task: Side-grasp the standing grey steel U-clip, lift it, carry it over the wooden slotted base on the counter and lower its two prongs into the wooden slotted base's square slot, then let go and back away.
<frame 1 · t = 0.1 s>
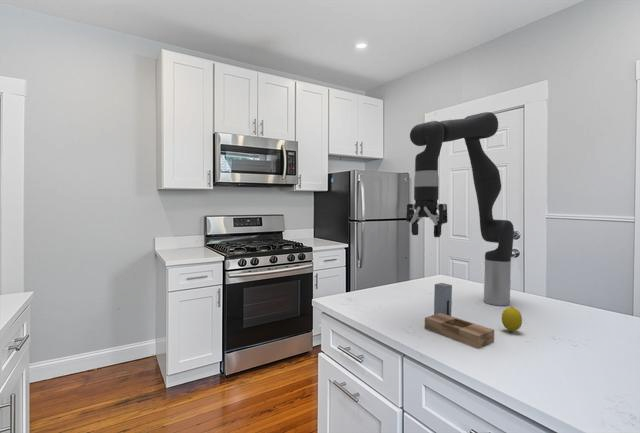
hand: (425, 236, 110), 29 cm above the worktop, tool pointing down, fingers open, 8 cm apart
clip: (442, 319, 117), on the worktop
wooden slotted base: (457, 334, 103), on the worktop
lemon: (511, 332, 106), on the worktop
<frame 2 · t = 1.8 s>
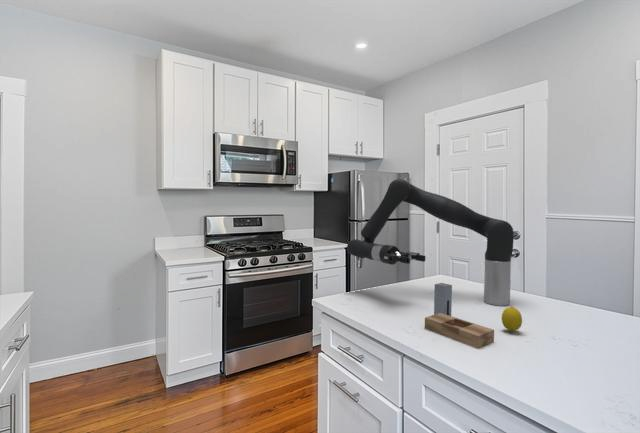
hand: (417, 259, 125), 19 cm above the worktop, tool horizontal, fingers open, 8 cm apart
nothing on the worktop moved.
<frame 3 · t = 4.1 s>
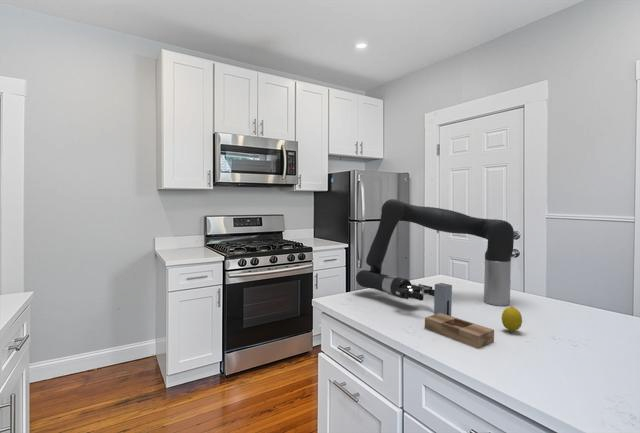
hand: (430, 295, 121), 7 cm above the worktop, tool horizontal, fingers open, 8 cm apart
nothing on the worktop moved.
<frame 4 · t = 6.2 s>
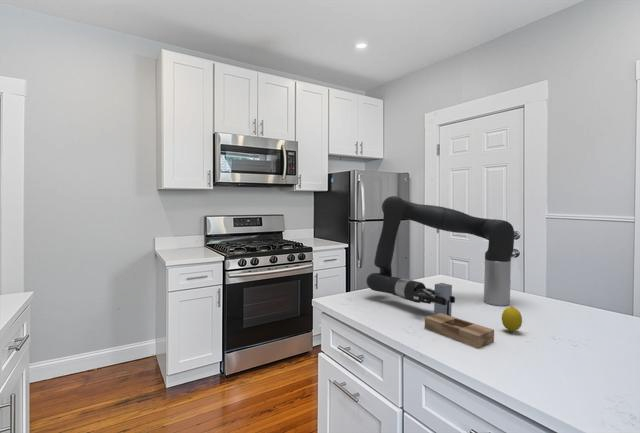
hand: (450, 301, 114), 7 cm above the worktop, tool horizontal, fingers closed on clip, 4 cm apart
clip: (442, 319, 117), on the worktop, touching gripper
everything else where it was.
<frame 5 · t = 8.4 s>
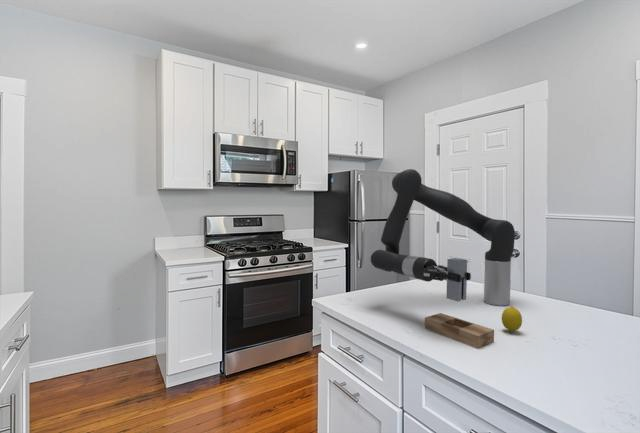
hand: (465, 277, 101), 18 cm above the worktop, tool horizontal, fingers closed on clip, 4 cm apart
clip: (456, 298, 103), point 11 cm above the worktop, touching gripper
everything else where it was.
when the fingers open (10 cm above the worktop, at t = 10.7 s): clip drops 1 cm, resting on wooden slotted base.
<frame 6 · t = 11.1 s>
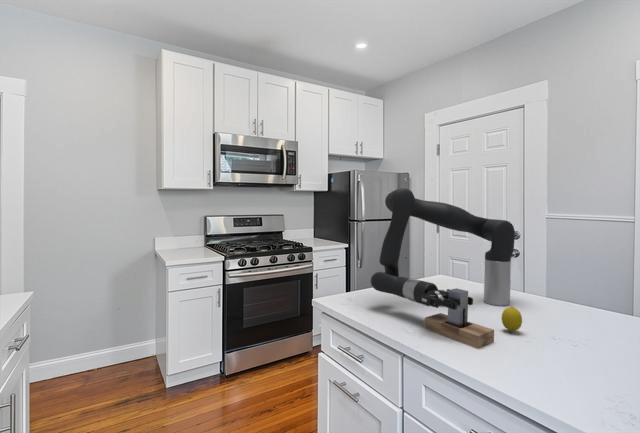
hand: (464, 303, 101), 10 cm above the worktop, tool horizontal, fingers open, 7 cm apart
clip: (457, 329, 103), point 1 cm above the worktop, touching wooden slotted base
everything else where it was.
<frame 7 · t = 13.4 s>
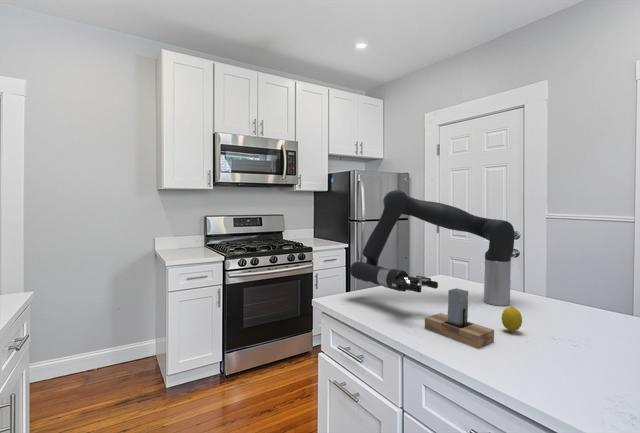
hand: (429, 287, 113), 12 cm above the worktop, tool horizontal, fingers open, 8 cm apart
nothing on the worktop moved.
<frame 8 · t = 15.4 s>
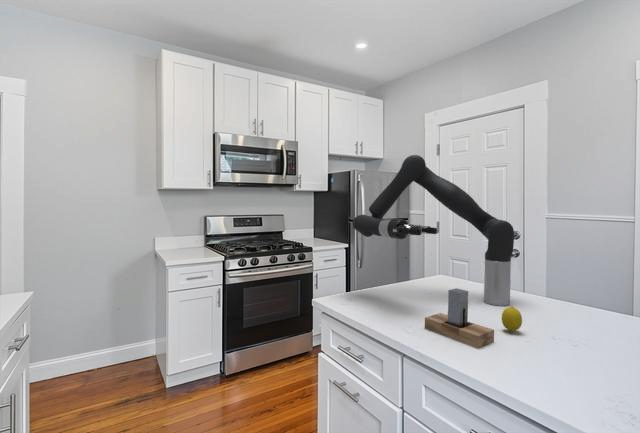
hand: (428, 231, 117), 30 cm above the worktop, tool horizontal, fingers open, 8 cm apart
nothing on the worktop moved.
at the end: clip 0.1 cm off-centre on the wooden slotted base, point 1.5 cm above the wooden slotted base's base; clip tilted 0°; the gripper is holding nothing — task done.
